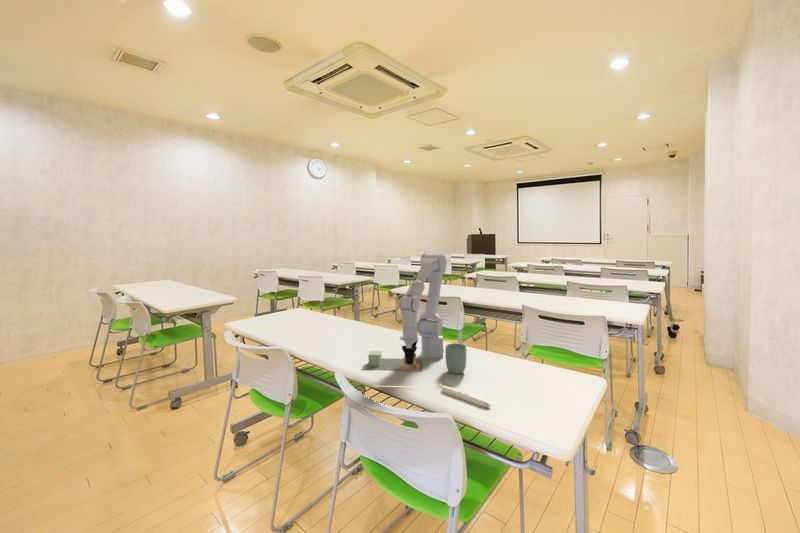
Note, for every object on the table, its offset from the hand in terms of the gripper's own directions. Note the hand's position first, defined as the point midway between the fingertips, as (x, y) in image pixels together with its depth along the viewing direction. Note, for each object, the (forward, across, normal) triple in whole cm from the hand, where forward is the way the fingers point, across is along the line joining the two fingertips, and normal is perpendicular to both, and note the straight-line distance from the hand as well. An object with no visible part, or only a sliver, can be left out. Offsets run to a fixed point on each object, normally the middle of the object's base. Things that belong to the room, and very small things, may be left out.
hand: (410, 360), depth 141 cm
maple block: (+2, 0, 0) cm, 2 cm away
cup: (+3, +4, +18) cm, 18 cm away
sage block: (+2, -2, -14) cm, 15 cm away
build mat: (+3, -2, -6) cm, 8 cm away
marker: (+3, +26, +19) cm, 32 cm away
